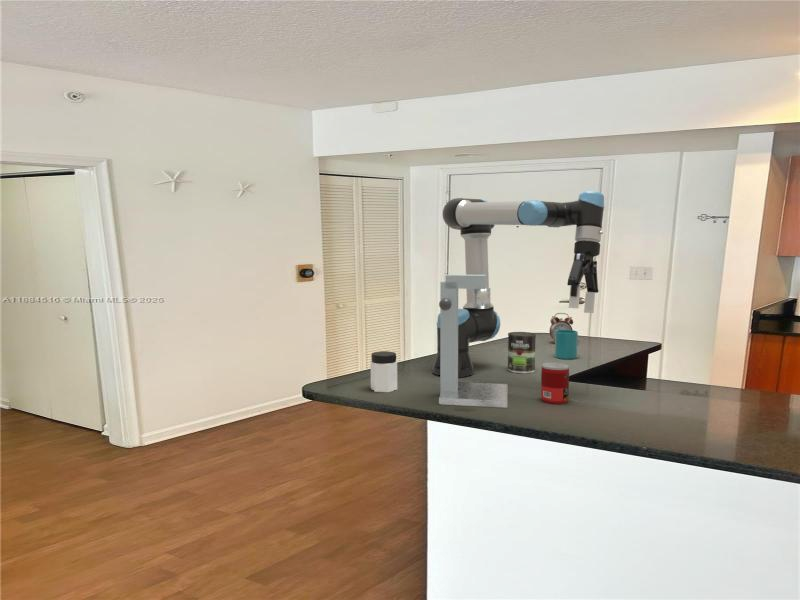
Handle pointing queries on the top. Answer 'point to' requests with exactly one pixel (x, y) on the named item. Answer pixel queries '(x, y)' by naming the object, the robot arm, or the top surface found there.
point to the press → (449, 384)
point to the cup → (566, 344)
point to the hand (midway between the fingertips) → (581, 310)
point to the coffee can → (521, 352)
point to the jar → (383, 371)
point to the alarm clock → (560, 324)
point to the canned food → (555, 383)
